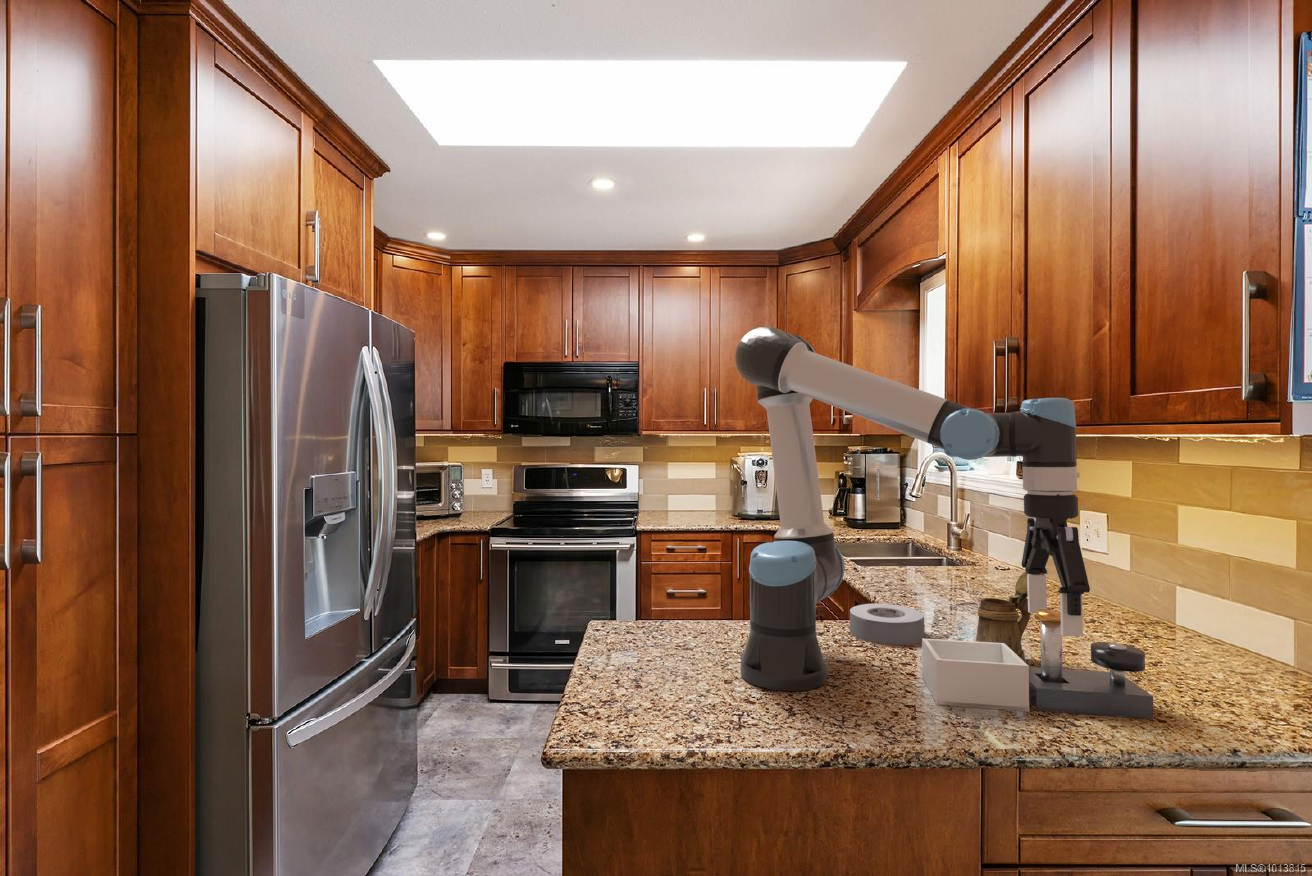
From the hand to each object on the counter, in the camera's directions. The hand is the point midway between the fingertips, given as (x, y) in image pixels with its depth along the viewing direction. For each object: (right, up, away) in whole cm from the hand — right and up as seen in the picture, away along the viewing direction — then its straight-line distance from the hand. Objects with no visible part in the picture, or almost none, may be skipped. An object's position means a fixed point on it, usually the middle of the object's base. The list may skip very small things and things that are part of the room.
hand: (1053, 623), depth 102 cm
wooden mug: (+4, -13, +20) cm, 24 cm away
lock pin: (0, -13, 0) cm, 12 cm away
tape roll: (-14, -13, +36) cm, 41 cm away
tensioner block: (+4, -12, -1) cm, 13 cm away
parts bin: (-12, -13, +3) cm, 18 cm away
